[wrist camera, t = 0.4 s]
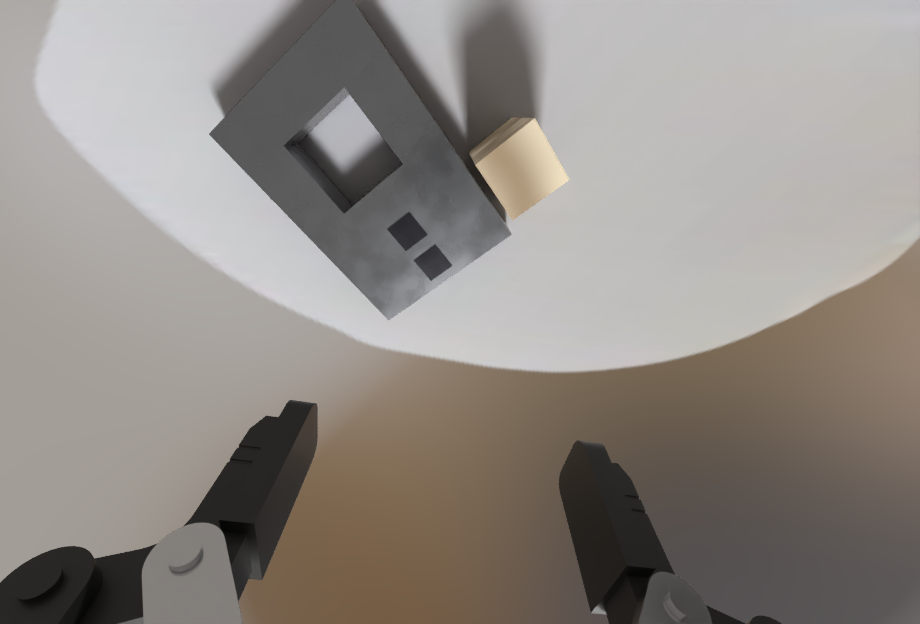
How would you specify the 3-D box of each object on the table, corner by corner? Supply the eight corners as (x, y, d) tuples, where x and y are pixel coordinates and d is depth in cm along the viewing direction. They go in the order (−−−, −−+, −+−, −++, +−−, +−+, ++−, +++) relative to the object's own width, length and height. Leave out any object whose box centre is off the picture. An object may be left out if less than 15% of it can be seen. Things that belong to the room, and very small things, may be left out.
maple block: (512, 117, 30) (534, 118, 22) (539, 163, 32) (569, 179, 24) (468, 151, 31) (475, 164, 23) (497, 194, 33) (512, 220, 25)
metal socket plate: (355, 3, 26) (344, -10, 24) (506, 225, 34) (511, 234, 32) (230, 132, 30) (208, 134, 27) (392, 305, 38) (388, 320, 35)
